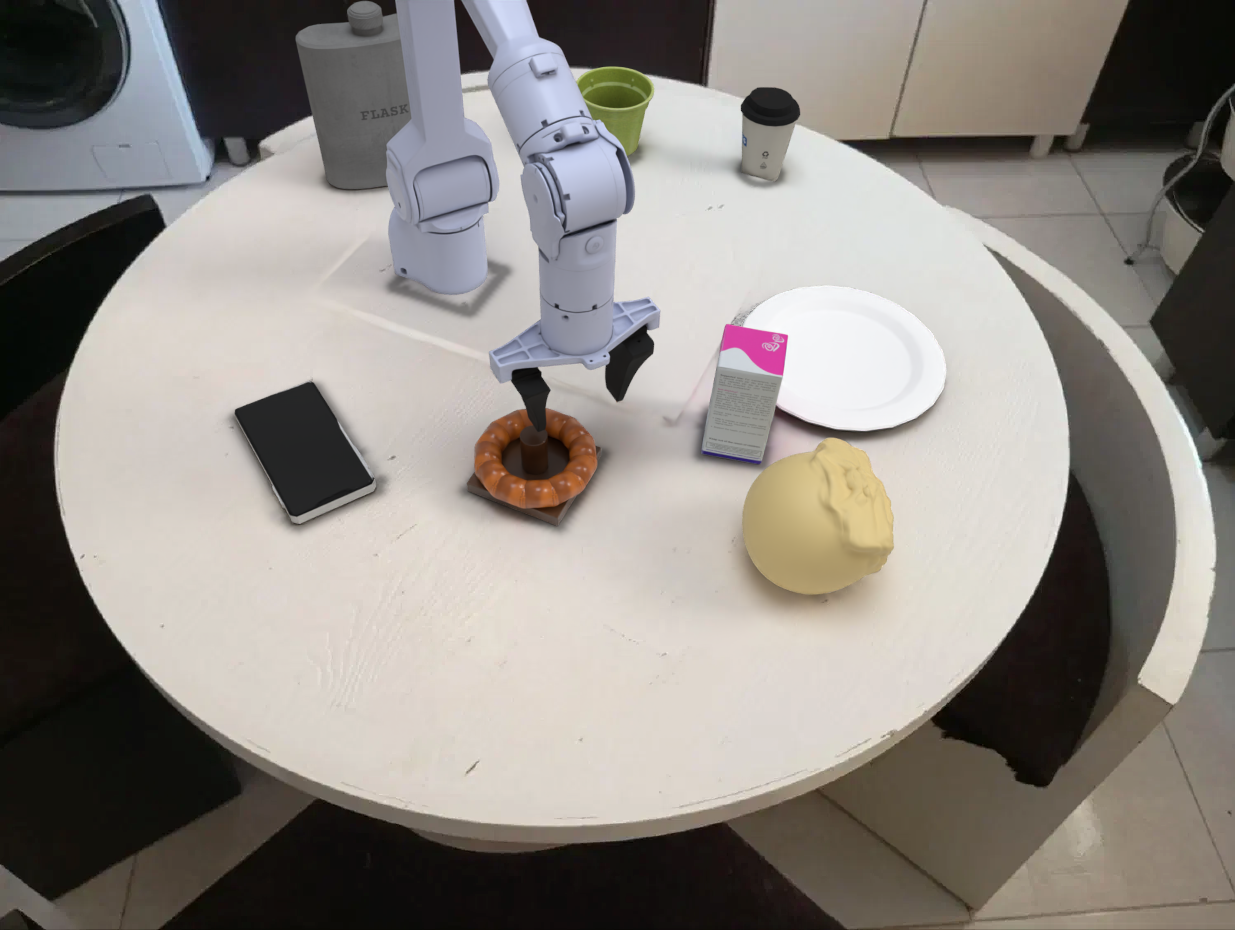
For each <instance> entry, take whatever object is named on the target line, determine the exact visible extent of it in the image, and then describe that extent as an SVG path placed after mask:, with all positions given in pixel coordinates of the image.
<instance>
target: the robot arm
mask: <svg viewBox="0 0 1235 930" xmlns="http://www.w3.org/2000/svg"><path fill="white" fill-rule="evenodd" d="M461 2H462V4H463V7H464V8H465V9H466V11H467V13H468V15H469V17H470V19H471V20H472V23H473V25H474V26H475V28H476V30H477V31H478V33H479V35H480V36H481V40H482V41H483V42H484V44H485V47H486V48H487V50H488V52H489V53H490V55H491V57H492V60H493V61H492V64H491V66H490V68H489V71H488V74H487V79H486V80H487V86H488V89H489V90H490V93H491V96H492V98H493V100H494V102H495V104H496V107H497V109H498V112H499V114H500V116H501V118H502V121H503V122H504V125H505V127H506V130H507V132H508V134H509V136H510V138H511V142H512V143H513V146H514V147H515V150H516V152H517V154H518V157H519V160H520V161H521V164H522V166H523V169H522V173H521V174H520V184H521V191H522V196H523V199H524V202H525V205H526V209H527V212H528V217H529V229H530V232H531V237H532V240H533V242H534V243H535V244H536V245H537V247H538V248H537V249H538V276H539V277H538V279H539V280H538V281H539V309H540V319H539V320H537V321H535V322H534V323H533V324H531V325H530V326H529V327H527V328H526V329H525V330H523V331H522V332H521V333H519V334H518V335H516V336H514V337H513V338H512V339H510V340H509V341H507V342H506V343H504V344H503V345H501V346H499V347H497V348H494V349H491V350H489V351H488V355H489V356H488V357H489V358H488V359H489V368H490V370H491V372H492V375H494V377H495V378H496V380H497V382H498V383H499V384H500V385H502V384H504V383H508V382H511V383H512V385H513V386H514V388H515V390H516V391H517V392H518V394H519V395H520V397H521V399H522V402H523V405H524V407H525V409H526V411H527V414H528V418H529V420H530V421H531V423H532V424H533V426H534V427H535V429H536V430H537V432H540V431H543V430H545V429H546V408H547V402H548V398H549V395H550V393H551V391H552V390H551V388H550V386H549V384H548V383H547V382H546V380H545V379H544V377H543V373H542V372H543V371H541V370H540V369H539V368H543V367H544V368H545V367H556V366H567V365H568V366H569V365H580V364H581V365H583V367H584V368H585V369H587V370H588V371H593V370H596V369H597V370H598V369H600V368H601V367H605V369H604V383H605V388H606V390H607V391H608V393H609V394H610V395H611V396H612V398H613V399H614V400H615V402H616V403H620V402H622V401H624V399H625V397H626V394H627V392H628V389H629V388H630V385H631V383H632V381H633V380H634V378H635V375H637V372H638V371H639V369H640V368H641V367H642V365H643V364H644V363H645V362H646V361H647V360H648V359H649V358H650V357H651V356H653V355H654V352H655V351H654V350H655V341H654V339H653V337H651V336H650V335H649V333H648V331H653V330H657V329H659V328H660V323H661V322H660V319H661V309H660V308H659V306H658V305H657V304H656V303H655V301H653V299H651V297H650V296H645V297H643V298H639V299H633V300H624V301H623V300H622V301H614V300H615V279H616V277H615V276H616V253H617V252H616V251H617V234H618V233H617V231H618V230H617V229H618V219H619V218H621V217H622V215H628V214H629V213H631V211H632V210H633V207H634V204H635V199H636V186H635V179H634V173H633V170H632V166H631V164H630V160H629V158H628V156H627V155H626V152H625V150H624V148H623V146H622V144H621V143H620V142H619V140H618V139H617V138H616V137H615V136H614V135H613V134H611V133H610V132H609V131H608V130H607V129H606V127H605V125H604V123H603V122H601V120H596V121H595V120H593V119H592V117H591V115H590V112H589V110H588V108H587V106H586V103H585V101H584V99H583V97H582V94H581V92H580V90H579V88H578V85H577V83H576V81H577V80H576V79H575V76H574V74H573V71H572V70H571V67H570V65H569V63H568V60H567V59H566V57H565V54H564V51H563V50H562V48H561V47H560V46H559V45H558V44H557V43H554V42H552V41H550V40H549V39H548V40H547V39H545V38H542V37H540V36H539V33H538V30H537V27H536V24H535V22H534V20H533V15H532V13H531V10H530V7H529V5H528V2H527V0H461ZM395 8H396V13H397V16H398V23H399V31H400V38H401V45H402V52H403V60H404V67H405V74H406V82H407V89H408V96H409V103H410V111H411V118H412V119H411V120H410V121H409V122H408V123H407V124H406V125H405V126H404V127H403V128H402V129H401V130H400V131H399V132H398V133H397V134H396V135H395V136H394V137H393V138H392V139H391V140H390V141H389V142H388V143H387V152H386V155H387V169H386V179H387V184H388V186H387V189H388V191H389V195H390V199H391V201H392V203H393V206H394V207H393V209H392V210H391V212H390V216H389V220H388V227H387V229H388V231H387V232H388V233H387V234H388V242H389V246H390V247H389V248H390V252H391V253H390V254H391V258H392V265H393V269H394V274H395V275H397V276H400V277H403V278H406V279H408V280H412V281H414V282H417V283H419V284H421V285H423V286H424V287H425V288H427V289H429V290H430V291H432V292H435V293H438V294H441V295H449V296H452V295H453V296H455V295H456V296H457V295H463V294H466V293H470V292H472V291H474V290H476V289H478V288H480V287H481V285H483V284H484V283H485V281H487V280H486V279H487V277H488V275H489V267H488V255H487V245H486V244H487V243H486V232H485V220H484V215H487V214H489V213H490V210H489V203H491V202H494V201H496V199H497V197H498V194H499V192H500V176H499V170H498V167H497V164H496V161H495V157H494V151H493V145H492V142H491V140H490V138H489V137H488V135H487V134H486V132H485V130H484V129H483V128H482V127H481V126H480V124H479V123H477V122H475V121H474V120H473V119H470V118H467V117H465V108H464V96H463V86H462V75H461V74H462V73H461V63H460V54H459V53H460V52H459V40H458V32H457V31H458V30H457V20H456V9H455V8H456V7H455V0H395Z"/></svg>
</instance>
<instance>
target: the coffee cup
mask: <svg viewBox="0 0 1235 930" xmlns="http://www.w3.org/2000/svg"><path fill="white" fill-rule="evenodd" d="M740 113H741V115H742V116H741V117H742V118H741V174H744V175H747V176H751V177H754V178H759V179H761V180H766V181H769V182H772V183H774V182H777V180H778V178H779V176H780V174H781V171H782V167H783V164H784V161H785V158H786V155H787V152H788V148H789V146H790V143H791V139H792V136H793V134H794V130H795V127H796V123H797V121H798V120H799V118H800V116H801V108H800V104H799V103H798V101H797V100H796V99H794V98H793V96H792V94H791V93H789V91H787V90H784V89H782V88H779V87H775V86H773V87H771V86H770V87H769V86H764V87H763V86H760V87H759V86H758V87H756V88H754V89H752V91H751V92H750V93H749V94H748V95H747V96H745V98H744V99H743V101H742V102H741V104H740Z"/></svg>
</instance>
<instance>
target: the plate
mask: <svg viewBox="0 0 1235 930" xmlns="http://www.w3.org/2000/svg"><path fill="white" fill-rule="evenodd" d="M741 327H746V328H751V329H757V330H762V331H769V332H775V333H781V334H786V335H788V341H787V349H786V357H785V365H784V373H783V379H782V383H781V386H780V390H779V394H778V399H777V403H776V407H775V408H777V409H778V410H780V411H782V412H783V413H786V414H788V415H789V416H792V417H794V418H796V419H798V420H800V421H802V422H805V423H807V424H810V425H814V426H819V427H821V428H826V429H829V430H833V431H842V432H857V433H868V432H869V433H870V432H874V431H875V432H876V431H882V430H890V429H894V428H896V427H900V426H902V425H905V424H907V423H909V422H913V421H915V420H916V419H918V418H919V417H921V416H922V415H923V414H925V412H927V411H928V410H929V409H931V408H932V407H933V406H934V405H935V404H936V402H937V400H938V398H939V397H940V395H941V394H942V392H943V390H944V389H945V383H946V377H947V372H948V368H947V363H946V359H945V354H944V351H943V349H942V346H941V345H940V344H939V342H938V340H937V338H936V336H935V335H934V333H933V332H932V331H931V330H930V329H929V327H927V325H926V324H924V322H923V321H921V319H919V318H918V316H916V315H915V314H914V313H912V312H910V311H909V310H907V309H906V308H904V307H903V306H901V305H899V303H896V302H895V301H892V300H890V299H888V298H885V297H883V296H880V295H878V294H875V293H873V292H872V291H871V292H870V291H866V290H861V289H857V288H853V287H848V286H842V285H841V286H840V285H839V286H838V285H827V284H826V285H823V284H820V285H819V284H818V285H810V286H803V287H795V288H792V289H789V290H786V291H783V292H780V293H776V294H774V295H772V296H771V297H769V298H768V299H766V300H764V301H762V302H761V303H759V304H757V305H756V306H755V307H754V309H753V310H752V311H751V312H750V313H749V314H748V315H747V317H746V318H745V319H744V320H743V323H742V325H741Z"/></svg>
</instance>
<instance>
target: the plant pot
mask: <svg viewBox="0 0 1235 930" xmlns="http://www.w3.org/2000/svg"><path fill="white" fill-rule="evenodd" d="M575 81H576V83H577V85H578V88H579V90H580V92H581V94H582V97H583V99H584V101H585V103H586V106H587V108H588V110H589V112H590V115H591V117H592V119H593V120H595V121H596V120H601V122H603V123H604V125H605V127H606V129H607V130H608V131H609V132H610V133H611V134H613V135H614V136H615V137H616V138H617V139H618V140H619V142H620V143H621V144H622V146H623V148H624V150H625V152H626V155H627V157H628V156H630V155H632V154H634V153H635V152H636V150H637V149H638V148H639V143H640V138H641V133H642V129H643V124H644V118H645V115H646V111H647V109H648V107H649V104H650V102H651V100H652V99H653V98H654V95H655V85H654V83H653V81H652V80H651V79H650V77H648V76H647V75H646V74H643V73H642V72H640V71H638V70H636V69H632V68H628V67H622V66H603V67H597V68H593V69H590V70H588V71H586V72H584V73H582V74H581V75H580V76H579V77H578V78H577V79H576V80H575Z"/></svg>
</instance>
